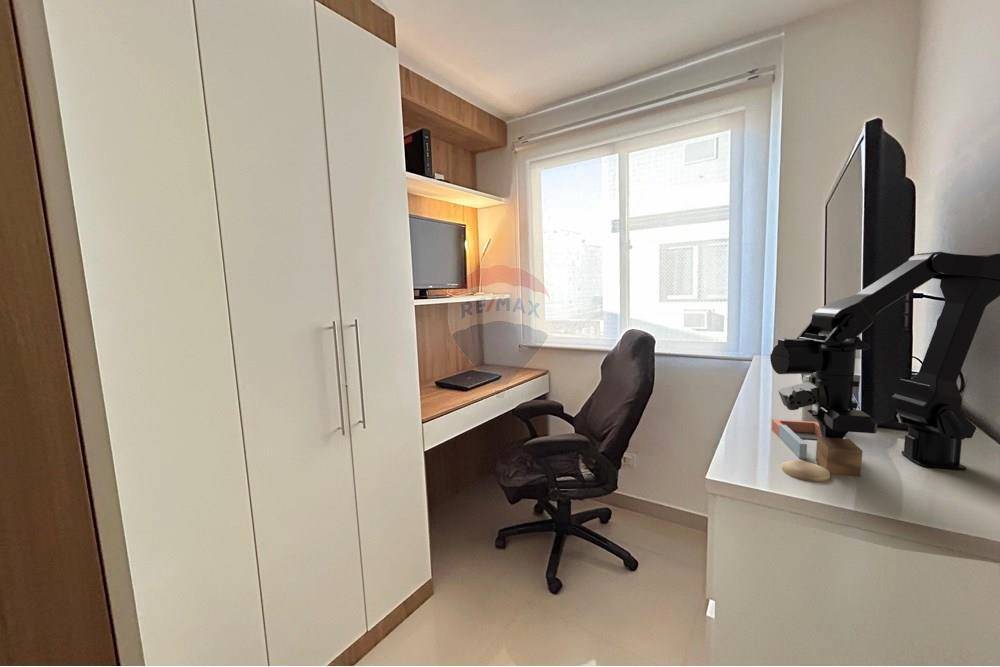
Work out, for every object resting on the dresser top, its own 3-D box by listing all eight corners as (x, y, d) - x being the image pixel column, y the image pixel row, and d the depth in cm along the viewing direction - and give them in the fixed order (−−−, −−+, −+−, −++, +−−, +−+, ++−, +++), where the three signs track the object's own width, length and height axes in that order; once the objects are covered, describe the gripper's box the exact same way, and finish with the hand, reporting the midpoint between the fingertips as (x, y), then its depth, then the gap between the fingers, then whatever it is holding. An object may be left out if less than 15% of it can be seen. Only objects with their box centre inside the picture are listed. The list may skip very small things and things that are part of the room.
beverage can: (830, 427, 96) (832, 378, 95) (807, 426, 97) (809, 378, 96) (818, 421, 101) (821, 374, 100) (797, 420, 102) (799, 374, 101)
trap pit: (818, 432, 93) (818, 421, 93) (828, 440, 88) (829, 429, 88) (771, 429, 96) (771, 419, 96) (779, 437, 91) (779, 426, 91)
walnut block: (847, 463, 76) (849, 439, 75) (860, 477, 72) (862, 450, 71) (815, 460, 78) (817, 436, 77) (826, 473, 73) (828, 448, 73)
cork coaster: (819, 466, 76) (820, 462, 76) (837, 483, 69) (837, 479, 69) (776, 462, 78) (777, 458, 78) (789, 478, 72) (789, 474, 72)
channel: (828, 440, 88) (829, 427, 88) (857, 463, 77) (858, 448, 77) (779, 437, 91) (779, 424, 91) (799, 458, 80) (799, 443, 80)
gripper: (770, 361, 87) (767, 429, 90) (802, 383, 70) (797, 467, 72) (832, 362, 84) (827, 434, 86) (882, 386, 66) (875, 474, 68)
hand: (829, 450), depth 78 cm, fingers closed
